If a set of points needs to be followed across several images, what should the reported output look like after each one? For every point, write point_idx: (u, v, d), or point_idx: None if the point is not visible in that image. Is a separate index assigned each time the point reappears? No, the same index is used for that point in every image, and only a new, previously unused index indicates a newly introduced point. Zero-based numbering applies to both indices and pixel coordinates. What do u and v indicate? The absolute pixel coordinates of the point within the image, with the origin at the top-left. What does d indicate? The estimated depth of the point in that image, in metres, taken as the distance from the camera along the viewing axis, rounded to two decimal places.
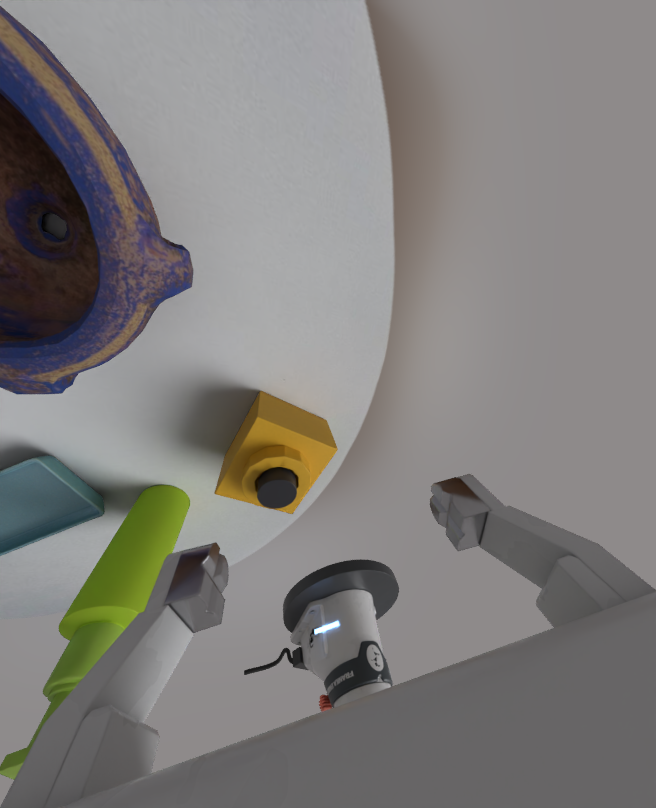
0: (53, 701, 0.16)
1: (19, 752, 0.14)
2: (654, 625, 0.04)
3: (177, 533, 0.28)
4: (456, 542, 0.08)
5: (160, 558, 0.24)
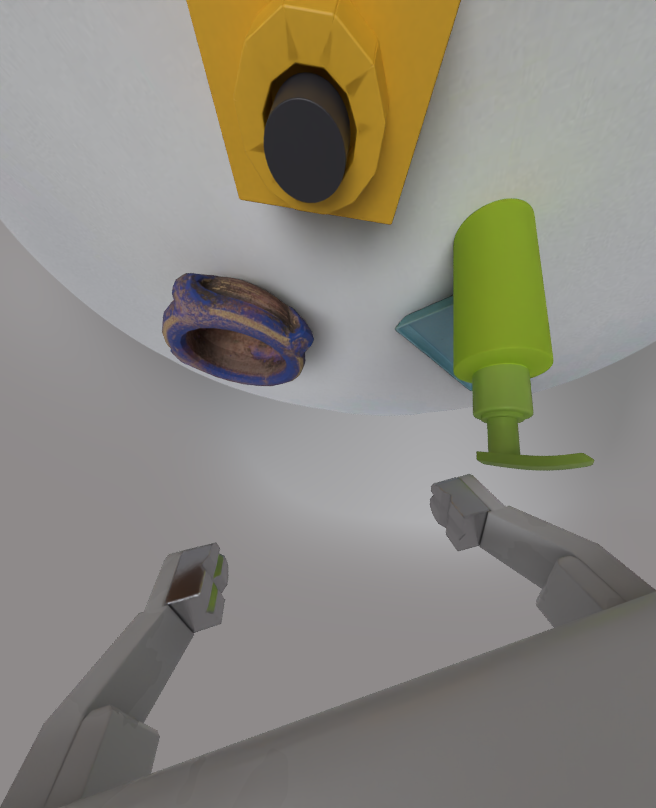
0: None
1: None
2: (654, 625, 0.04)
3: (503, 246, 0.18)
4: (456, 542, 0.08)
5: (483, 294, 0.17)
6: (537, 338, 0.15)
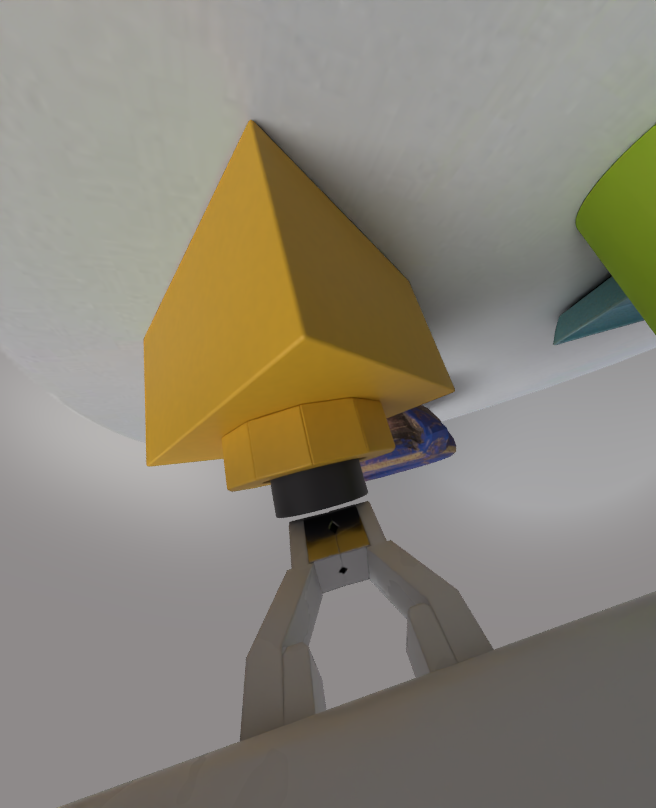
0: None
1: None
2: (654, 625, 0.04)
3: None
4: (344, 575, 0.08)
5: None
6: None
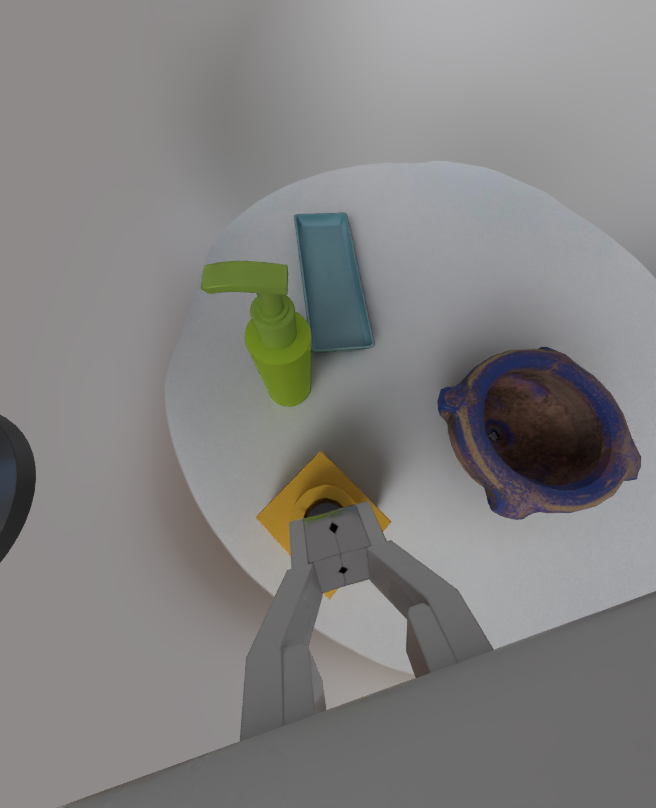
0: (282, 301, 0.18)
1: (287, 280, 0.16)
2: (654, 625, 0.04)
3: (276, 393, 0.29)
4: (344, 575, 0.08)
5: (284, 384, 0.26)
6: (252, 357, 0.22)
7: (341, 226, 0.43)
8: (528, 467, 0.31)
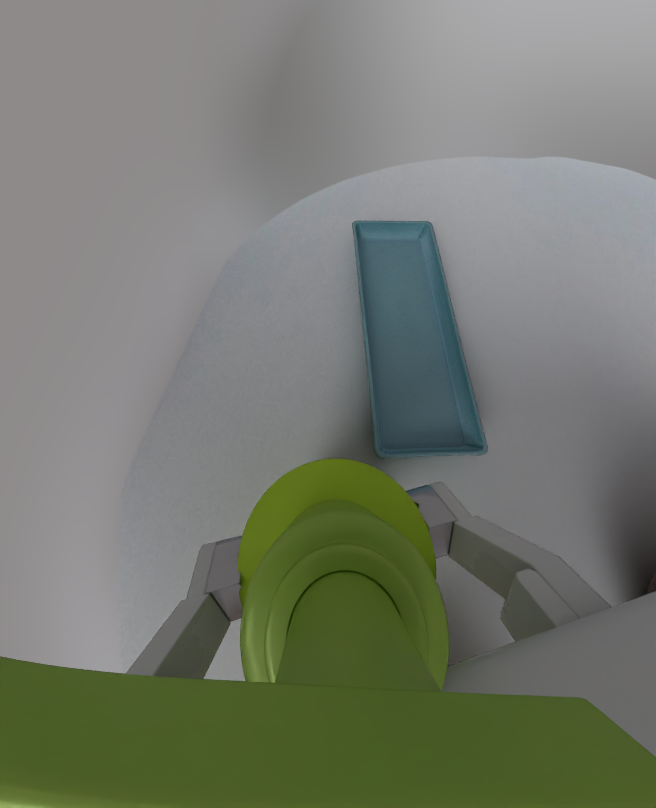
0: None
1: None
2: (654, 625, 0.04)
3: None
4: None
5: None
6: None
7: (420, 241, 0.29)
8: None
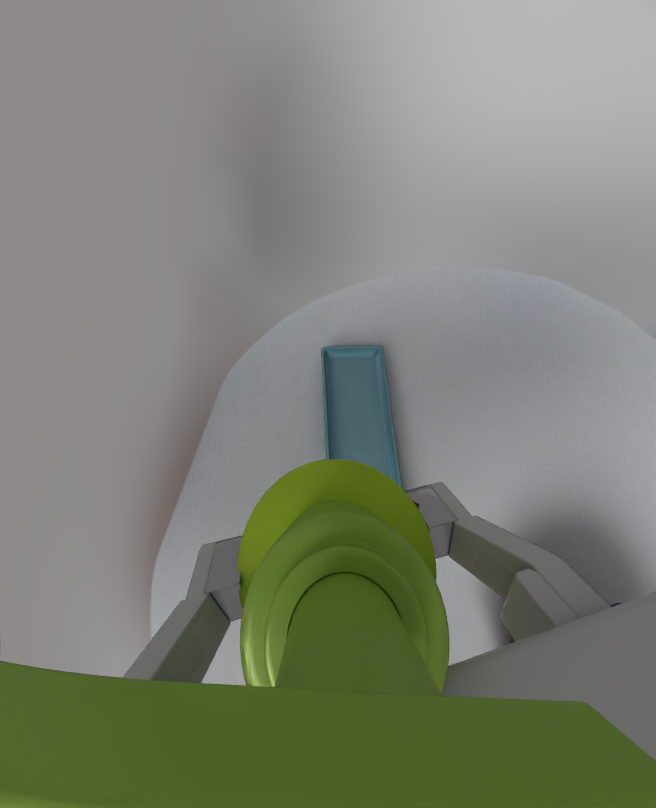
0: None
1: None
2: (654, 625, 0.04)
3: None
4: None
5: None
6: None
7: (375, 358, 0.37)
8: None
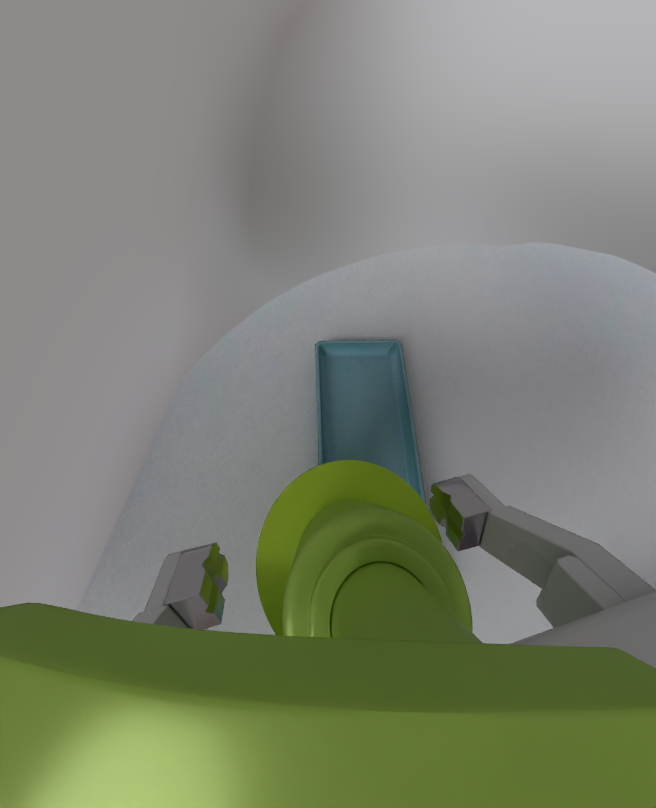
0: None
1: None
2: (654, 625, 0.04)
3: None
4: (456, 542, 0.08)
5: None
6: None
7: (390, 357, 0.27)
8: None
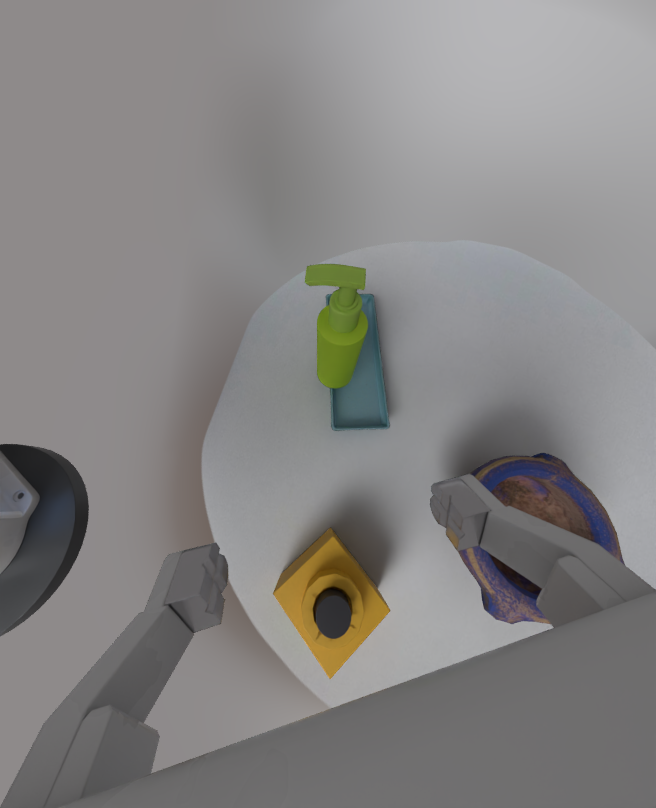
0: None
1: None
2: (654, 625, 0.04)
3: (328, 374, 0.35)
4: (456, 542, 0.08)
5: (339, 364, 0.32)
6: (321, 338, 0.28)
7: (367, 304, 0.47)
8: None
